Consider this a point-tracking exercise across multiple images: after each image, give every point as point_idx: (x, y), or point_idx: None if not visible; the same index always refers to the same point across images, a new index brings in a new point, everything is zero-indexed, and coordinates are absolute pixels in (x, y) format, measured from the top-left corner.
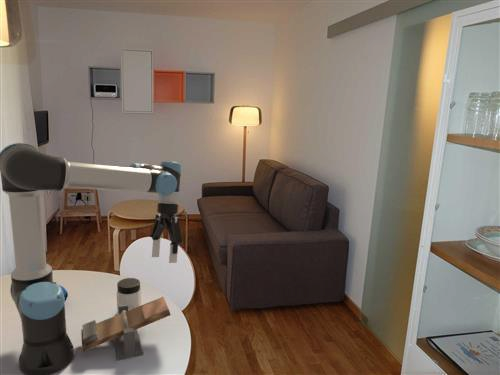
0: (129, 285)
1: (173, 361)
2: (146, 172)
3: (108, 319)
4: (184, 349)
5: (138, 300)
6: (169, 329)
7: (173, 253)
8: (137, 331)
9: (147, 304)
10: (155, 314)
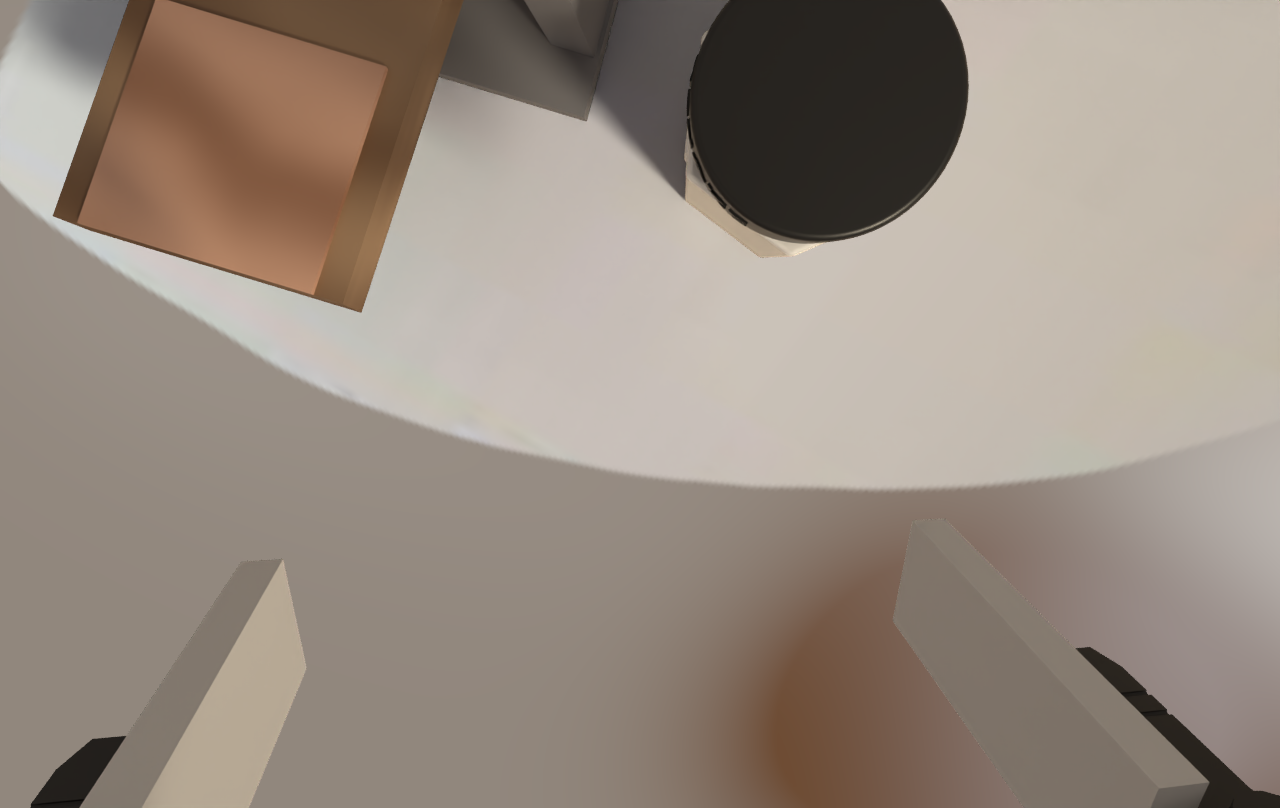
0: (756, 77)
1: (59, 149)
2: None
3: None
4: (137, 270)
5: (686, 187)
6: (388, 301)
7: (97, 743)
8: (446, 74)
9: (357, 124)
10: (122, 95)
